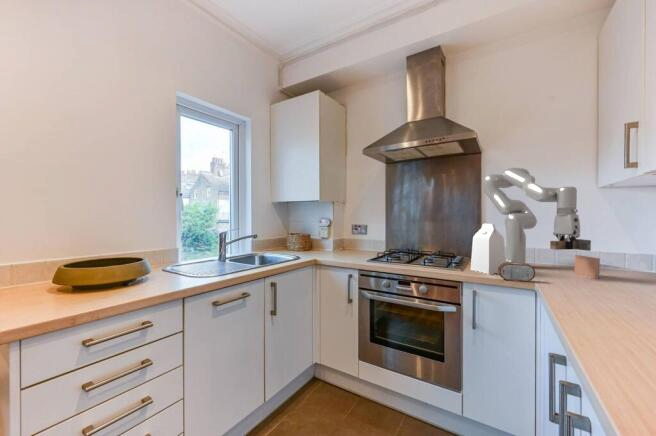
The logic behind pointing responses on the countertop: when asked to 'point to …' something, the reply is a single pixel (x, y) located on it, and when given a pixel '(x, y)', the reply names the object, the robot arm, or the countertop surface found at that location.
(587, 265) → the tile
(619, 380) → the countertop surface
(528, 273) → the tin
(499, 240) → the milk
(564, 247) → the brown angular block
